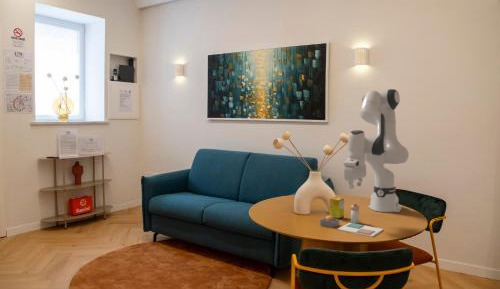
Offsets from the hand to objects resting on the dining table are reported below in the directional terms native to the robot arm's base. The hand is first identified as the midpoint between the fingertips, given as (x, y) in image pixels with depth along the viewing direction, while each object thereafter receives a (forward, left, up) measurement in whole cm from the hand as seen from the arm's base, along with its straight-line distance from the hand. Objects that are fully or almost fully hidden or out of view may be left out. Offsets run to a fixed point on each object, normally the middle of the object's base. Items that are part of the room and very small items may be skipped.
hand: (355, 187), depth 211 cm
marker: (0, 0, -19) cm, 19 cm away
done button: (+13, -8, -17) cm, 23 cm away
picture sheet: (+11, +8, -19) cm, 23 cm away
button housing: (+13, -8, -19) cm, 24 cm away
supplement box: (-3, -12, -19) cm, 23 cm away
